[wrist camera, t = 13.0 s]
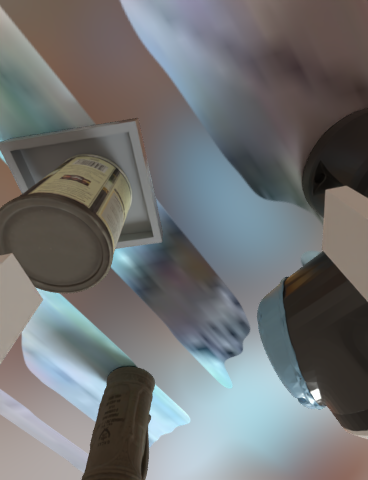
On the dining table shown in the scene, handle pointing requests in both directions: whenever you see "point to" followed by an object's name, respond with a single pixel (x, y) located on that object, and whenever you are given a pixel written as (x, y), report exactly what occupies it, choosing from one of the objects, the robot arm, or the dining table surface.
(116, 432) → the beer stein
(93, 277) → the coffee can
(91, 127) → the holder tray
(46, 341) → the dining table surface
